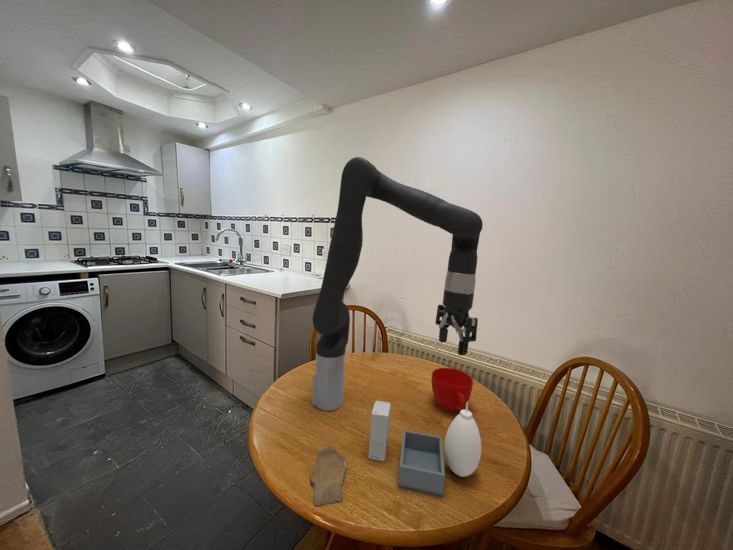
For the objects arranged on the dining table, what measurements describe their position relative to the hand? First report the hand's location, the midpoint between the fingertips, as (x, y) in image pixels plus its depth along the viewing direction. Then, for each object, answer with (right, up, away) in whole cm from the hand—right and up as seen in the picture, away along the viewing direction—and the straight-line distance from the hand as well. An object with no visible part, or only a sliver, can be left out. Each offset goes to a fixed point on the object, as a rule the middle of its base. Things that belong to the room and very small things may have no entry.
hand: (451, 347), depth 76 cm
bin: (-10, -26, -10) cm, 30 cm away
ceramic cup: (+4, -24, +15) cm, 29 cm away
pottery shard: (-32, -26, -12) cm, 43 cm away
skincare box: (-20, -25, -5) cm, 33 cm away
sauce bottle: (-1, -27, -10) cm, 29 cm away
